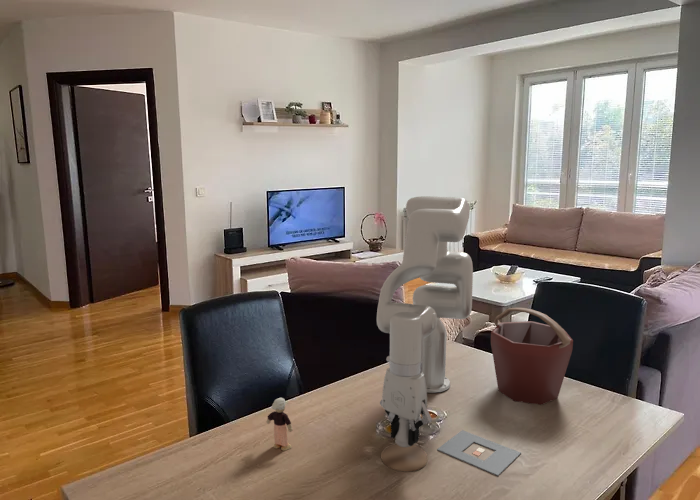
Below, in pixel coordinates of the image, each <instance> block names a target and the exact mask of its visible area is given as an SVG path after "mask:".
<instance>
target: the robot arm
mask: <svg viewBox="0 0 700 500" xmlns="http://www.w3.org/2000/svg"><path fill="white" fill-rule="evenodd" d="M405 211H406V216H407V218H408V220H407V226H406V232H405V233H406V234H405V241H404V248H403V255H402V262H401V263H400V264H399V266H397V267H396V268H395V269H394V270H393V271H392V272H391V273H390V274H389V275H388V276H387V277H386V279H385V281H384V282H383V284H382V286H381V288H380V292H379V293H380V294H379V298H378V304H377V310H376V311H377V312H376V326H377V327H378V330H379V331H381V332H382V333H385V334H389V355H388V356H386V359H385V360H386V362H387V363H389V365H388V366H389V367H388V368H386V370H385V374H384V378H383V386H382V395H381V397H382V398H381V400H380V401H379V405H380V406H381V407H382V408H383V409H384V412H385V413H386V415H387V416H388V421H389V422H390V438H391V439H396V438H395V436H396V434H397V432H398V431H399V425H400V423H399V420H400V418H399V417H398V415H399V416H401V417H404V418H406V419H409V421H410V429H409V431H408V444H409V446H412V445H415V444H416V443H417V442H419V440H420V428H421V427H422V426H424V425H428V424H430V422H432V421H433V418H432V417H431V413H429V410H428V393H429V394H434V393H441V392H444V391H446V390H448V389H450V387H451V381H450V379H449V378H448V377H447V376H446V366H447V365H446V364H447V363H446V360H447V329H446V326H445V324H444V322H443V321H442V320H441V319H453V320H465V319H467V318H469V317H470V315H471V313H472V308H473V281H474V279H473V278H474V276H473V275H474V267H473V261H472V257H471V256H470V254H468V252H467V253H466V252H462V251H452V250H451V251H449V250H448V243H459V242H461V241H462V240H463V238H464V237H465V234H466V231H467V227H468V224H469V219H470V214H471V213H470V205H469V202H468V200H467V199H465V197H464V198H463V197H458V196H457V197H456V196H454V197H453V196H452V197H451V196H415V197H411V198H409V199H408V200H407V201H406V205H405ZM419 278H420V280H422V281H423V282H426V283H434V284H435V285H433V284H424V285H420V286H418V287H416V288H415V289H414V291H413V294H412V303H409V302H408V303H404V302H393V301H392V300H393V296H394V294H395V292H396V291H398V289H400V288H401V286H403V285H405V284H406V283H409V282H411V281H413V280H417V279H419ZM436 284H437V285H436ZM438 284H449V285H454V286H448V285H446V286H445V285H438ZM421 416H422V418H421Z"/></svg>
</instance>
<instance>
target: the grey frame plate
mask: <svg viewBox="0 0 700 500" xmlns="http://www.w3.org/2000/svg"><path fill="white" fill-rule="evenodd" d="M473 444H477V445H479V446H482V447H483V448H481V447H478V448H477V449H476V450H475V451H473V452H472V455H470V454H468V453H466V452H464V451H465V450H467V449H468V448H469V447H470V446H472V445H473ZM485 448H487V449H489V450H492V451H493V453H491V454H490V455H489V456H488V457H487V458H486V459H485V460H483V459H481V458H478V457H479V456H480V455H481V454H482V453H484V452H485V451H486V449H485ZM436 451H438V452H440V453H443V454H445V455H446V456H447V455H448V456H449V457H452V458H455V459H457V460H460V461H462V462H464V463H465V464H469V465H471V466H473V467H475V468H478V469H480V470H483V471H484V472H487V473H489V474H492V475H494V476H497V477H499V476H500V475H501V474H502V473H503V472H504V471H505V470H506V469H508V467H509V466H510V465H511V464H512V463H513V462H514V461H516V459H517V458H519V457H520V455H522V452H521V451H518V450H516V449H512V448H510V447H508V446H505V445H502V444H500V443H497V442H494V441H492V440H489V439H487V438H484V437H481V436H479V435H477V434H474V433H471V432H468V431H465V430H463V429H462V430H460V431H458V432H457V433H456V434H455V435H454V436H453V437H451V438H450V439H448V440H447V441H446V442H444V443H443V444H442V445H441V446H439V447H438V448H437V450H436ZM474 455H475V456H477V457H475V456H474Z"/></svg>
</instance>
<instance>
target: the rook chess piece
mask: <svg viewBox="0 0 700 500" xmlns="http://www.w3.org/2000/svg"><path fill="white" fill-rule="evenodd" d="M398 417H399V418H400V420H399V423H400V425H399V431H398V432H397V434H396V436H395V438H394V439H395V440H394V441H395V444H397V445H398V446H400V447H410V446H409V444H408V431H409V429H411V427H410V421H409V419H406V418H404V417H401V416H399V415H398Z"/></svg>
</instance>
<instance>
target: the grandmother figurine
mask: <svg viewBox="0 0 700 500" xmlns="http://www.w3.org/2000/svg"><path fill="white" fill-rule="evenodd" d="M271 409H272V410H274V411H271V412H270V413H269V414H268V415H267V419H266V421H265V422H266V424H268V425H269V424H271V421H273V423H274V424H273V425H274V426H273V437H274V444H273V449H280V450H282V452H283V451H288V450H291V449H292V448H293V447H292V444H290V443H289V441H288V432H289V433H291V432H293V430H294V429H293V427H292V422H291V419H290V418H289V416H288V414H287V413H286V412H284V411H285V409H286V400H285V398H284V397H279V398H276V399H274V401H273V403H272V405H271ZM287 430H288V431H287Z"/></svg>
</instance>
